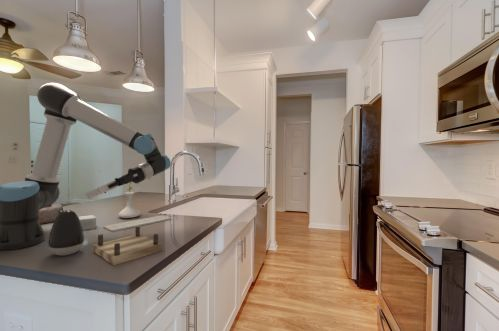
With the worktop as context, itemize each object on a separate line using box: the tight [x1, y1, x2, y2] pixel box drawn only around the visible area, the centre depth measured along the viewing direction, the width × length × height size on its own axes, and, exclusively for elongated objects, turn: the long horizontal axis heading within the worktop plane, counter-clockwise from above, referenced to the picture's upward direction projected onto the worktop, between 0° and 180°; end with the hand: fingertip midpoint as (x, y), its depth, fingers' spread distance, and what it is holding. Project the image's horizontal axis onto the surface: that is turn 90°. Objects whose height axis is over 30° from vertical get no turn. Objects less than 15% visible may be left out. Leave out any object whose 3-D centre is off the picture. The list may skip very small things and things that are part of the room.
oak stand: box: [92, 226, 163, 266], centre depth 90 cm, size 17×17×6 cm
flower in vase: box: [117, 182, 141, 219], centre depth 140 cm, size 13×11×25 cm
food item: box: [39, 203, 64, 225], centre depth 125 cm, size 14×8×10 cm, turn 152°
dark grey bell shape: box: [47, 209, 85, 257], centre depth 87 cm, size 10×10×15 cm
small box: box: [78, 214, 97, 231], centre depth 117 cm, size 8×8×5 cm
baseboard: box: [102, 213, 172, 233], centre depth 128 cm, size 31×3×12 cm
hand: (92, 193), depth 97 cm, fingers open, 13 cm apart
